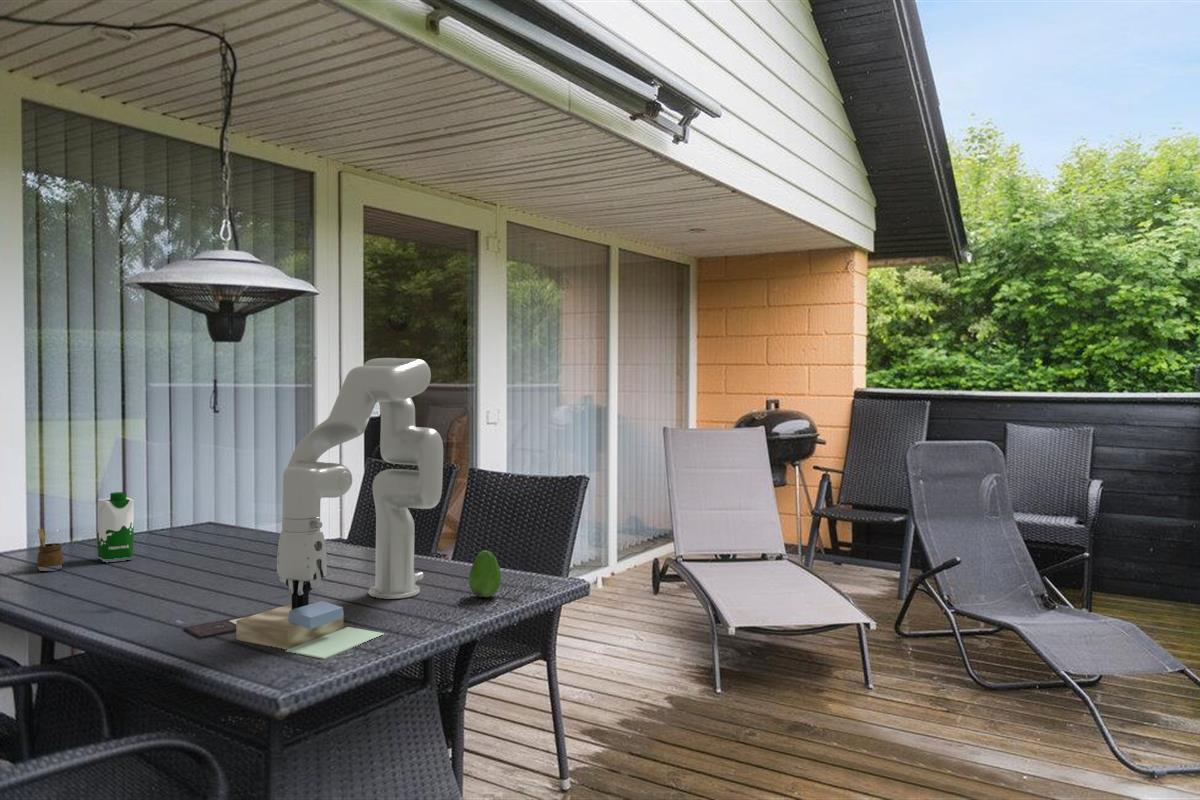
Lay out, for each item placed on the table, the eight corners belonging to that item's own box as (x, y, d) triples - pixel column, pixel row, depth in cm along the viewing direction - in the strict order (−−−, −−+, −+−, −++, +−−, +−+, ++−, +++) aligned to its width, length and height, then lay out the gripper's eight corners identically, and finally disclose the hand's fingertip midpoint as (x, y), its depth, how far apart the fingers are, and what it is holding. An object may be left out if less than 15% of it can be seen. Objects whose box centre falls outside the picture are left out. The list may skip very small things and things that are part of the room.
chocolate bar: (183, 627, 178) (265, 611, 191) (183, 631, 178) (265, 615, 191) (200, 636, 172) (284, 619, 185) (200, 641, 172) (284, 624, 185)
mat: (348, 628, 181) (348, 626, 181) (385, 634, 177) (385, 633, 177) (285, 651, 165) (285, 650, 165) (324, 659, 161) (324, 657, 161)
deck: (294, 620, 187) (294, 602, 186) (343, 629, 181) (343, 610, 181) (236, 639, 172) (236, 620, 172) (287, 649, 166) (287, 629, 166)
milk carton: (103, 564, 238) (103, 495, 238) (93, 559, 244) (94, 491, 244) (136, 560, 244) (137, 492, 244) (126, 555, 251) (127, 489, 250)
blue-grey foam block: (320, 611, 178) (321, 600, 178) (341, 618, 176) (343, 607, 176) (288, 621, 170) (289, 610, 170) (309, 629, 168) (311, 617, 168)
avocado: (487, 602, 205) (488, 554, 205) (462, 598, 209) (463, 550, 209) (507, 596, 212) (507, 549, 212) (482, 591, 216) (483, 545, 216)
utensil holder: (68, 568, 232) (68, 525, 232) (48, 573, 226) (48, 529, 226) (51, 567, 234) (51, 524, 234) (30, 572, 228) (31, 528, 227)
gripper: (341, 525, 175) (340, 612, 175) (288, 519, 181) (287, 603, 182) (315, 531, 168) (313, 621, 169) (261, 524, 175) (259, 611, 175)
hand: (299, 612), depth 175 cm, fingers closed
